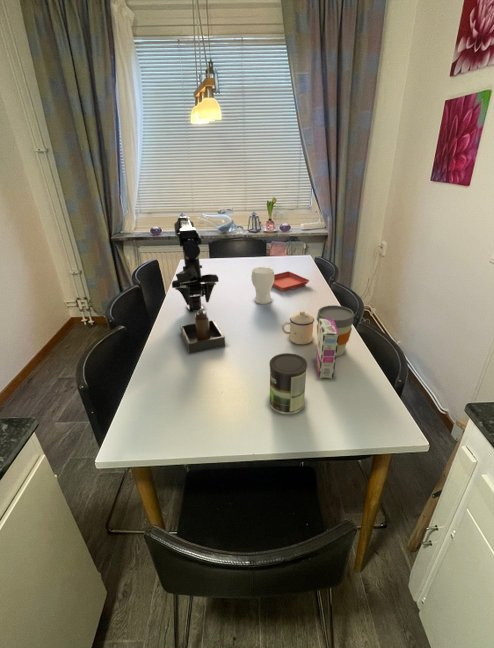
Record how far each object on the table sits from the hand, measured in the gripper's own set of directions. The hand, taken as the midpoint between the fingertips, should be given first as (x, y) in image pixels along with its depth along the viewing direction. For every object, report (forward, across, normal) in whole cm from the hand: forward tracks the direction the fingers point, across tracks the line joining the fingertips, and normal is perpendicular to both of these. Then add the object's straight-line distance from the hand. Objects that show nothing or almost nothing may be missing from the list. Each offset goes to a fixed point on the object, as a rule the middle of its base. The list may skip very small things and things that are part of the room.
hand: (197, 303), depth 137 cm
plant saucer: (-6, +13, +62) cm, 64 cm away
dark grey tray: (+14, +2, -3) cm, 15 cm away
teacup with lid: (+18, +35, +13) cm, 41 cm away
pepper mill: (+15, +4, -4) cm, 16 cm away
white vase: (+1, +10, +39) cm, 40 cm away
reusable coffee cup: (+23, +48, +11) cm, 55 cm away
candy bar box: (+28, +49, -1) cm, 56 cm away
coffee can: (+33, +43, -22) cm, 58 cm away
